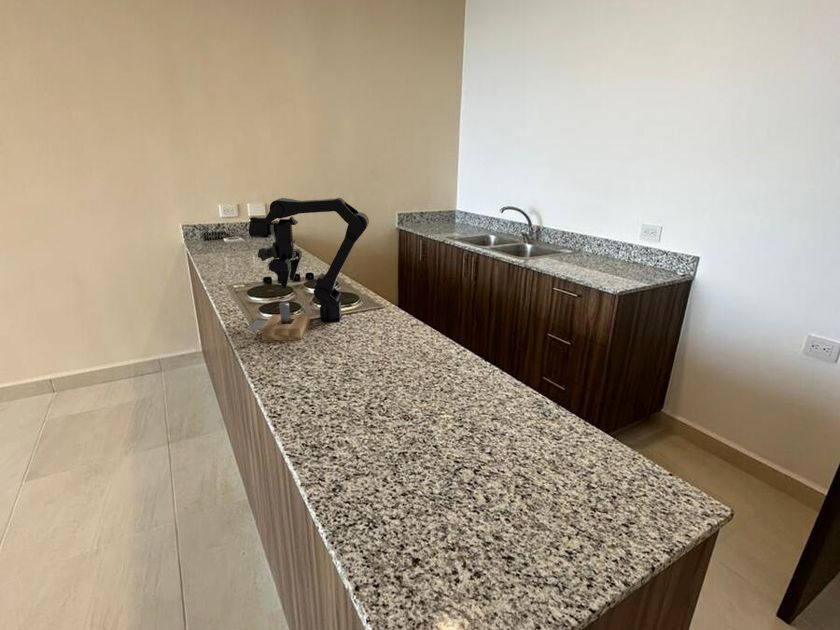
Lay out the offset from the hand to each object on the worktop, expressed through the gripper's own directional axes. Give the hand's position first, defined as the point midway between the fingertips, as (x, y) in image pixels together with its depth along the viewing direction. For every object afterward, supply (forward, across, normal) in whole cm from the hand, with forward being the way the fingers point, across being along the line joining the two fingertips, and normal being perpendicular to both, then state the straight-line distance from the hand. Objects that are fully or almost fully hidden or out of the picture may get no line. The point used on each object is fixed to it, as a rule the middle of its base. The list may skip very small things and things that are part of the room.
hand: (288, 284), depth 157 cm
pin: (+12, +13, +2) cm, 18 cm away
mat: (+12, +7, -8) cm, 16 cm away
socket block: (+12, +13, +2) cm, 18 cm away
